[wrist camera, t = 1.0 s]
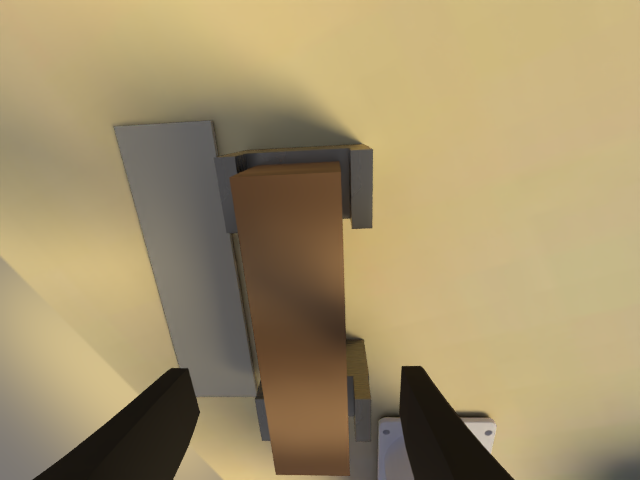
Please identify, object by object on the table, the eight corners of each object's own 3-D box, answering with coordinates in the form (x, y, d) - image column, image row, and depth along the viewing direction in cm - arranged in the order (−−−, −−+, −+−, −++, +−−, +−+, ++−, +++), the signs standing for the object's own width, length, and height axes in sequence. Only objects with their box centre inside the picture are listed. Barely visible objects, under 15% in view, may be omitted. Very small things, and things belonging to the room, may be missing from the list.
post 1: (363, 202, 16) (373, 228, 12) (253, 206, 16) (225, 233, 12) (363, 143, 15) (374, 148, 11) (246, 150, 15) (212, 157, 11)
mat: (257, 393, 21) (256, 396, 21) (189, 393, 21) (187, 396, 21) (212, 120, 15) (210, 120, 15) (117, 126, 15) (113, 126, 15)
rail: (346, 409, 17) (349, 475, 14) (287, 409, 17) (275, 474, 14) (339, 161, 12) (340, 172, 9) (256, 165, 13) (229, 177, 9)
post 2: (363, 376, 20) (371, 441, 16) (276, 376, 20) (261, 440, 16) (363, 339, 19) (372, 399, 15) (271, 340, 19) (253, 399, 15)
